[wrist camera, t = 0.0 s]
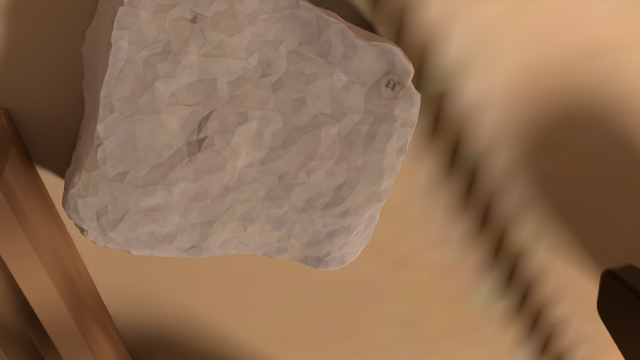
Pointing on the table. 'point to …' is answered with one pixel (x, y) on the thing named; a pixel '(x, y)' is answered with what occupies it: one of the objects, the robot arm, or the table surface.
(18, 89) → the table surface
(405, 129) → the stone block
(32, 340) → the caddy
